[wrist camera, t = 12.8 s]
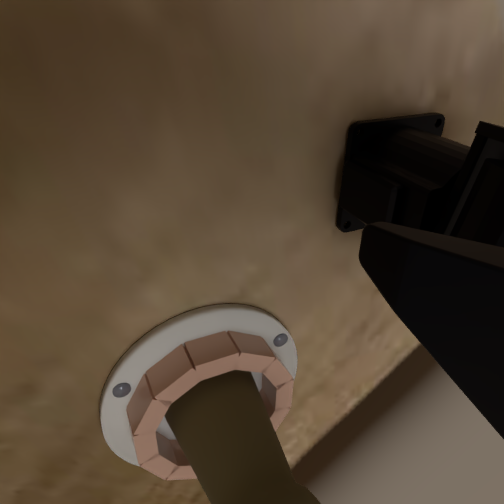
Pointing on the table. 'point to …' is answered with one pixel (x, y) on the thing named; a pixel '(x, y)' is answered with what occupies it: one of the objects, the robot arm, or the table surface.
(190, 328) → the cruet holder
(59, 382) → the table surface
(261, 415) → the brown peg
